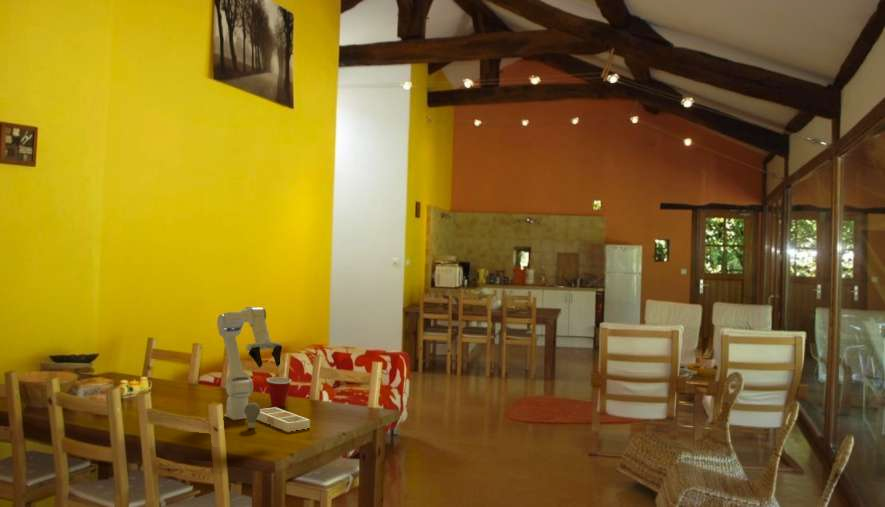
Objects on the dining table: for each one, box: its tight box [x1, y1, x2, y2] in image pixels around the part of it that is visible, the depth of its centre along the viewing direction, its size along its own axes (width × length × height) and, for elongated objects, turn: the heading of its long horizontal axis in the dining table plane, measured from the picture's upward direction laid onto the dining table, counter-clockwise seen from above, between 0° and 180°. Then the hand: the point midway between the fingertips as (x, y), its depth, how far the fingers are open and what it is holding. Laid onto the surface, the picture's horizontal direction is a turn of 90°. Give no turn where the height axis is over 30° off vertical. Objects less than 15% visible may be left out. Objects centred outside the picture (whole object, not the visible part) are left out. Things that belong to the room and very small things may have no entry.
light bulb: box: [244, 402, 261, 429], centre depth 286 cm, size 6×6×10 cm
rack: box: [256, 407, 311, 433], centre depth 295 cm, size 27×10×4 cm, turn 42°
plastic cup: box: [266, 376, 292, 408], centre depth 327 cm, size 11×11×12 cm
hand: (269, 365), depth 282 cm, fingers open, 7 cm apart
